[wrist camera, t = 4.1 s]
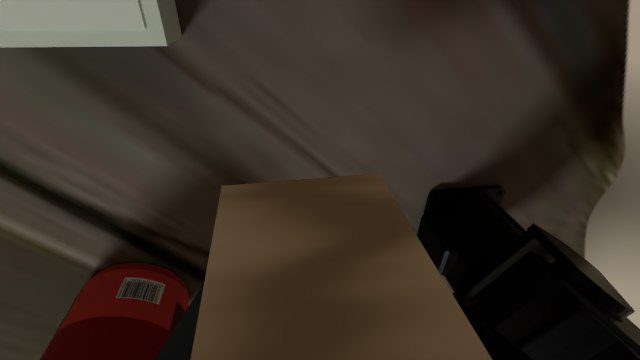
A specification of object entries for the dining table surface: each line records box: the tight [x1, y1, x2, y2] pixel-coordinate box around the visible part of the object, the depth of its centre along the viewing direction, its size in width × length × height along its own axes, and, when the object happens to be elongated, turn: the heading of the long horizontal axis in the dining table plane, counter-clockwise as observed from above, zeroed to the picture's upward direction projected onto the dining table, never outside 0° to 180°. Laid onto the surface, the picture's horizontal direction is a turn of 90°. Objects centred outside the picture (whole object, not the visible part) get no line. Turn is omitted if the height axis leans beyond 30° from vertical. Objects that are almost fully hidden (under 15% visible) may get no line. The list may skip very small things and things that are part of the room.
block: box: [191, 174, 492, 360], centre depth 9 cm, size 5×5×6 cm
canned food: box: [40, 263, 189, 360], centre depth 21 cm, size 8×8×11 cm
